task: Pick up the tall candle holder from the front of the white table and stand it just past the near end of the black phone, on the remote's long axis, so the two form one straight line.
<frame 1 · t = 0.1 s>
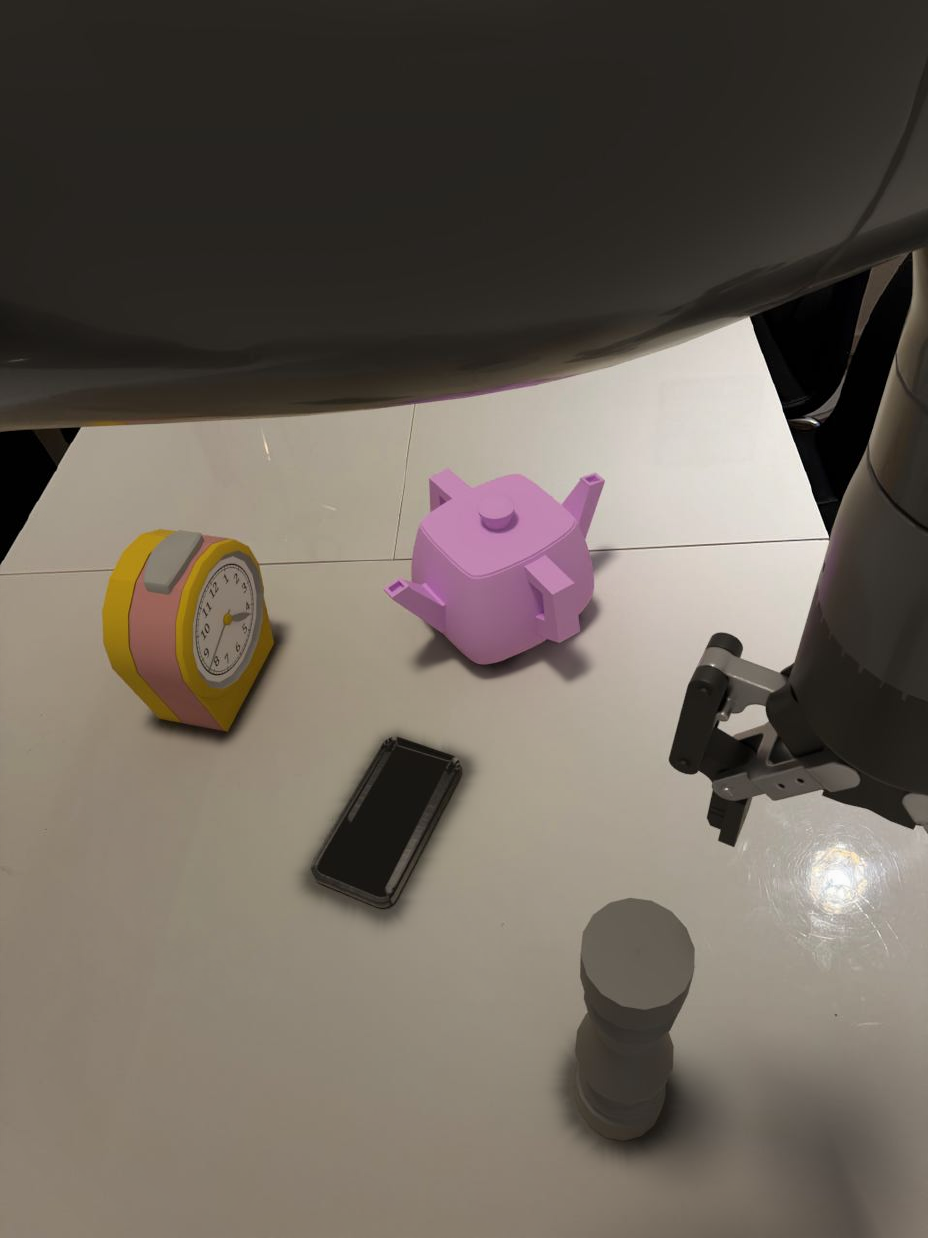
hand: (836, 869, 37), 35 cm above the table, tool pointing down, fingers open, 8 cm apart
phone: (389, 821, 80), on the table
candle holder: (618, 1092, 65), on the table
alarm clock: (222, 681, 93), on the table
teapot: (504, 614, 96), on the table
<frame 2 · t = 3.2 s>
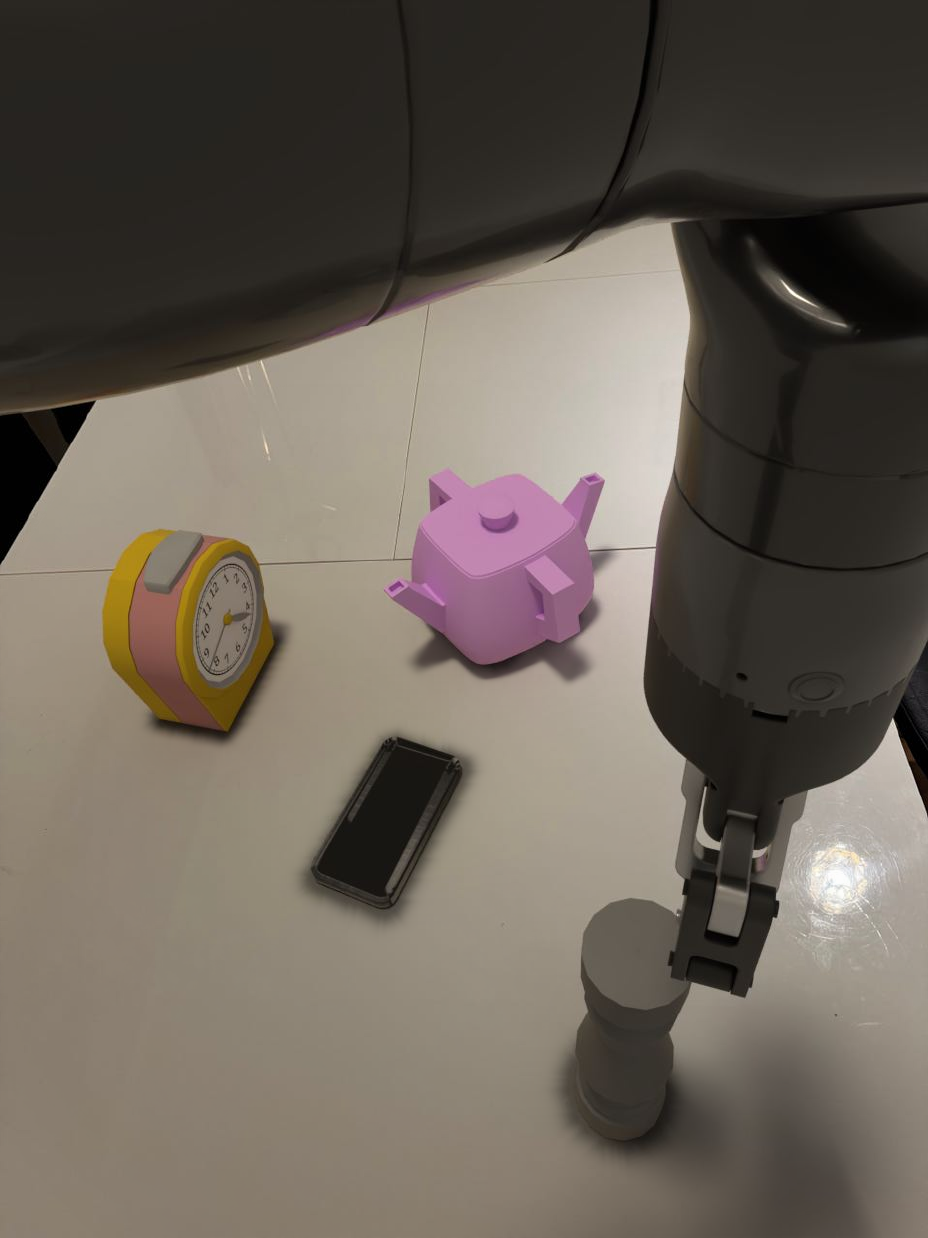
hand: (718, 864, 38), 35 cm above the table, tool pointing down, fingers open, 8 cm apart
nothing on the table moved.
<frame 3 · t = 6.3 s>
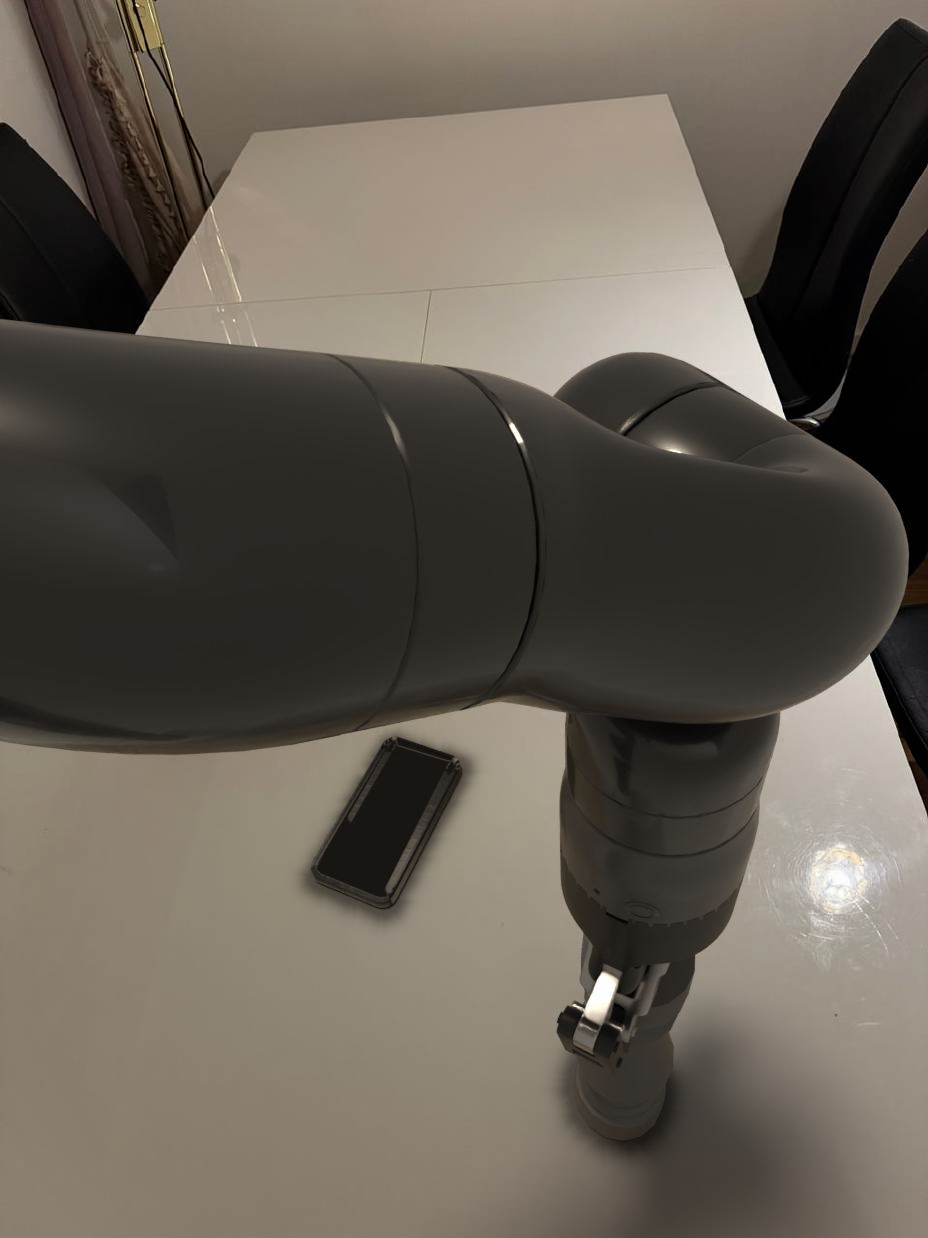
hand: (632, 984, 49), 21 cm above the table, tool pointing down, fingers closed on candle holder, 5 cm apart
candle holder: (618, 1092, 65), on the table, touching gripper
everything else where it was.
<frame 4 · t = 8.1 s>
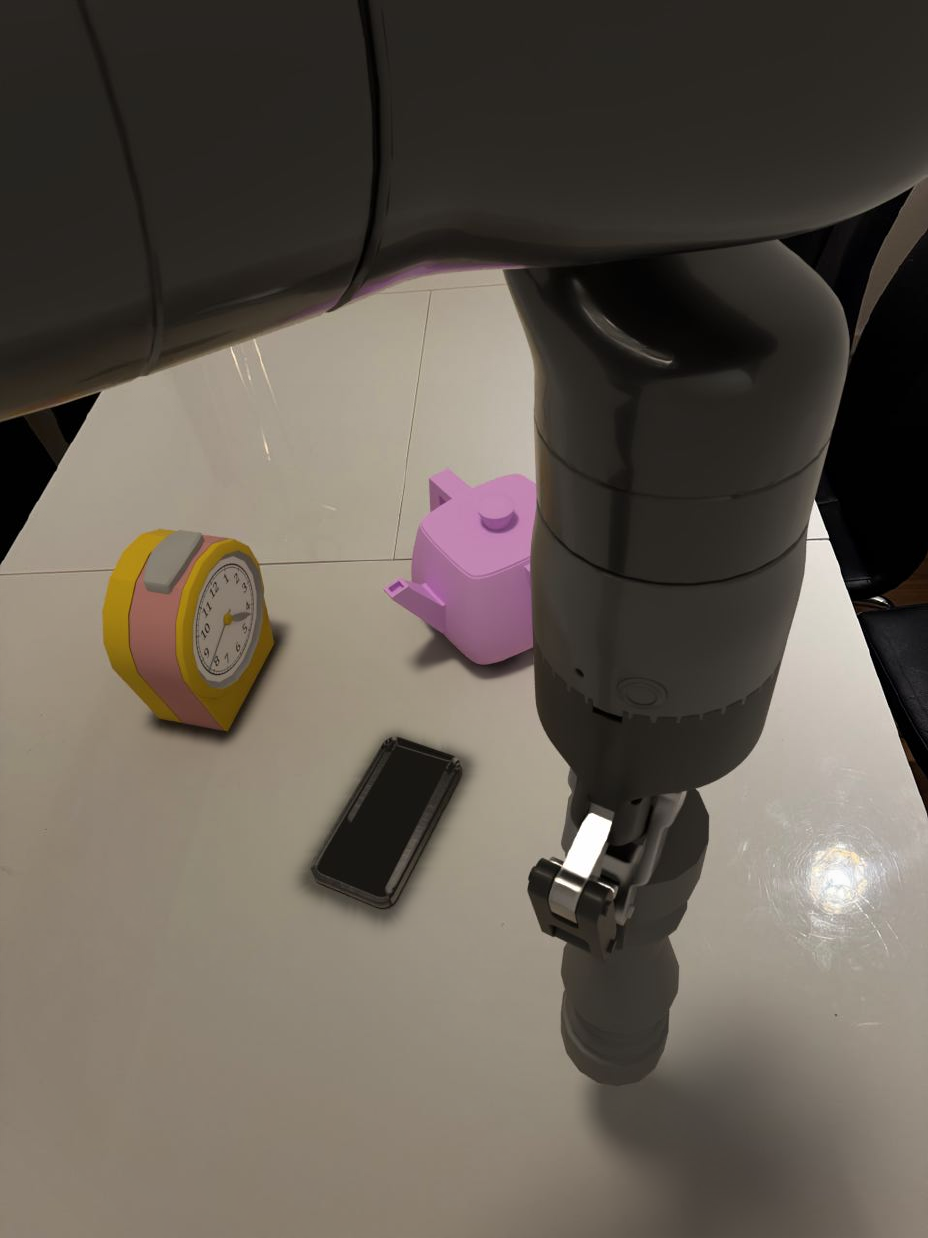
hand: (629, 871, 40), 34 cm above the table, tool pointing down, fingers closed on candle holder, 5 cm apart
candle holder: (612, 1032, 55), point 13 cm above the table, touching gripper
everything else where it was.
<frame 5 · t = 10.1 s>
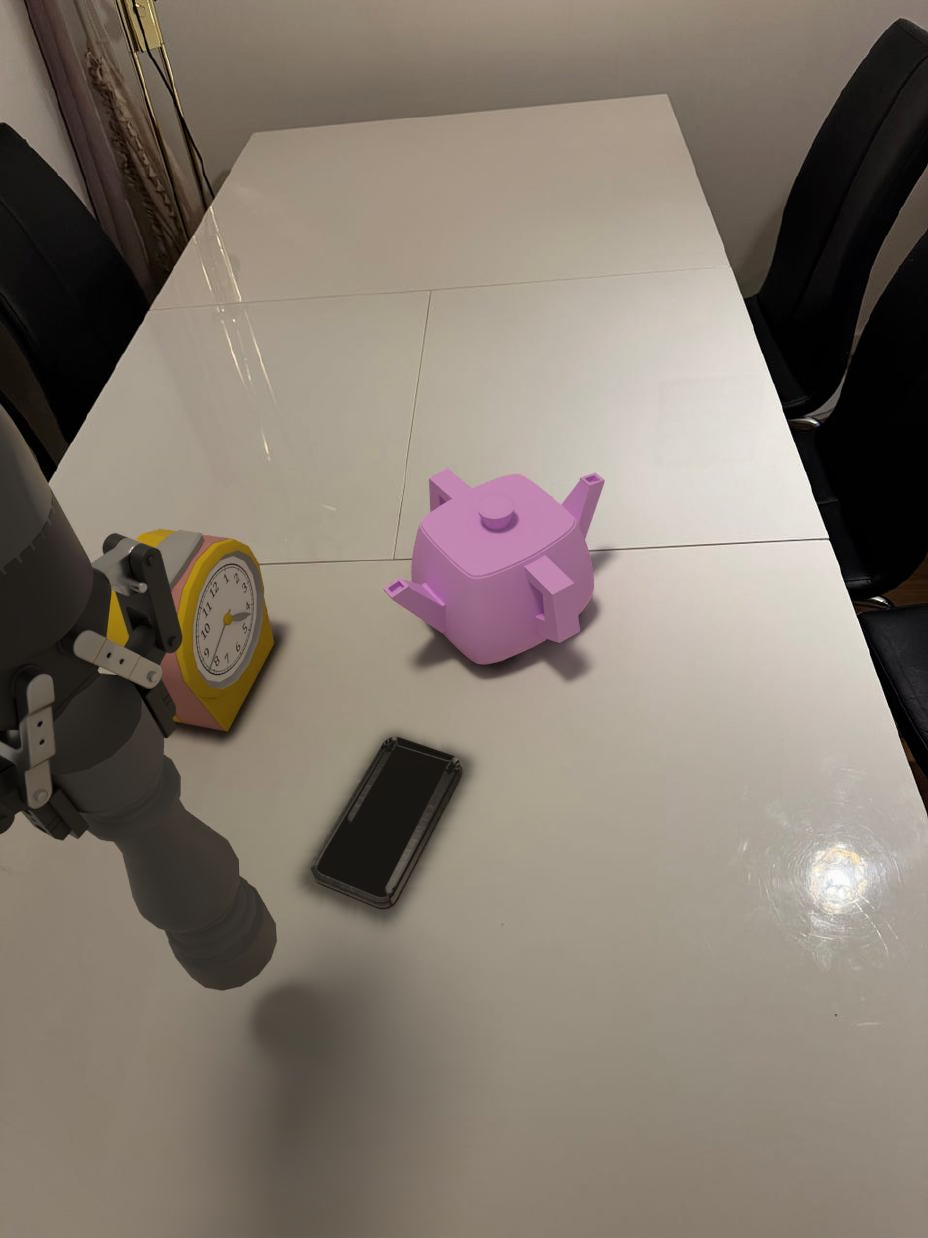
hand: (115, 775, 45), 34 cm above the table, tool pointing down, fingers closed on candle holder, 5 cm apart
candle holder: (231, 944, 60), point 13 cm above the table, touching gripper
everything else where it was.
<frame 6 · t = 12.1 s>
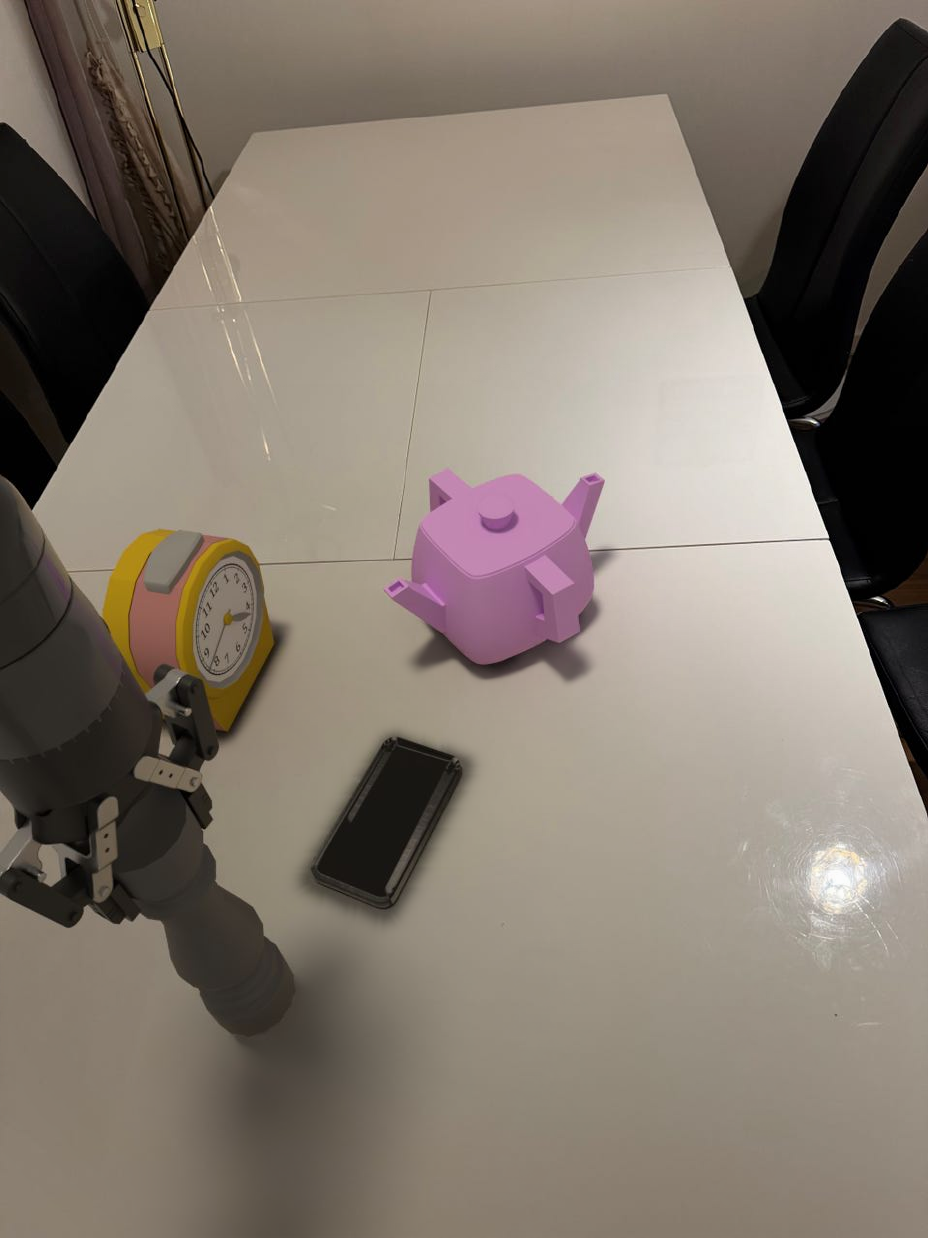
hand: (161, 863, 52), 24 cm above the table, tool pointing down, fingers closed on candle holder, 5 cm apart
candle holder: (254, 993, 68), point 4 cm above the table, touching gripper
everything else where it was.
when the fingers open (21 cm above the table, at t = 13.7 s): candle holder stays where it is, on the table.
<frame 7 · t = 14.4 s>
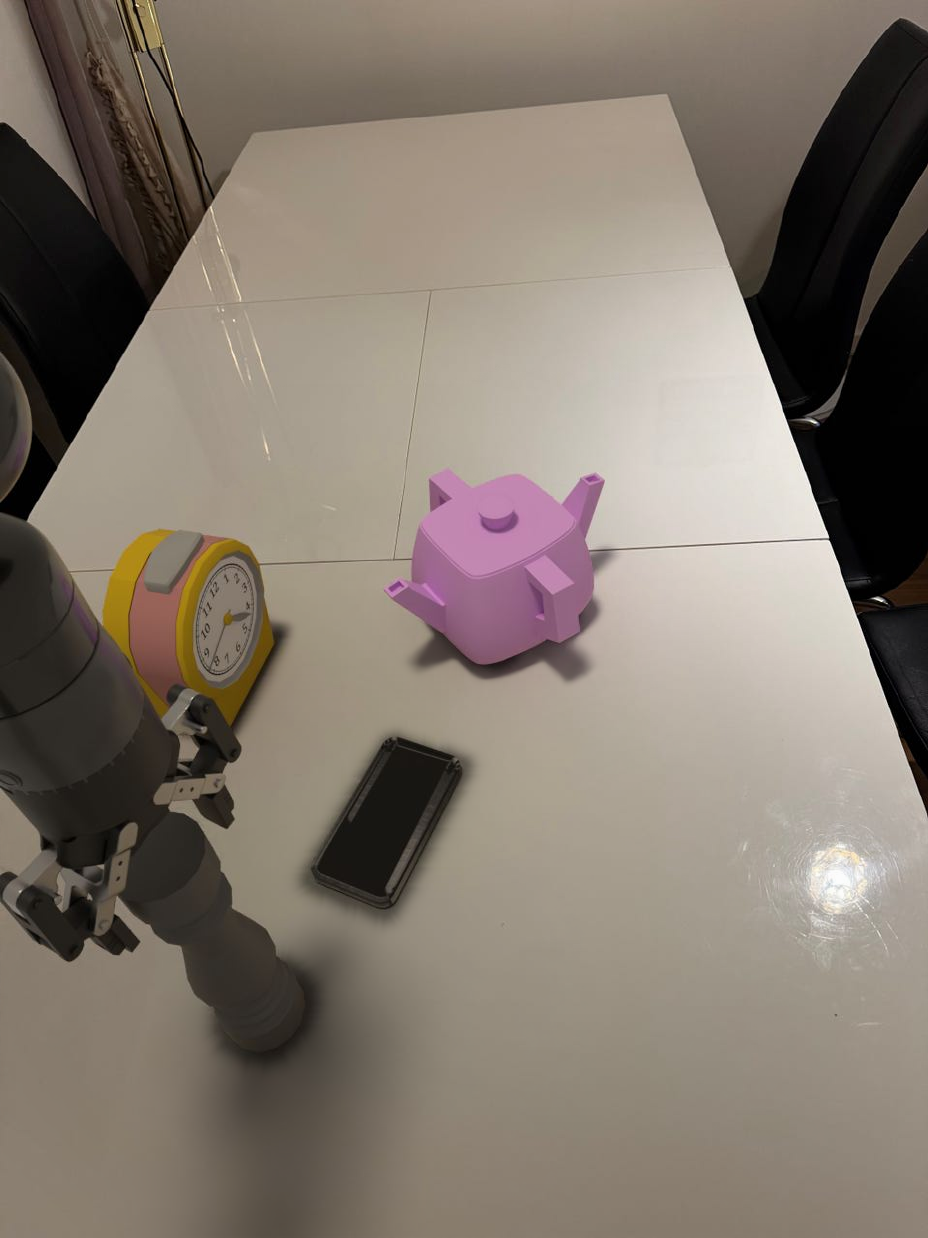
hand: (173, 878, 54), 22 cm above the table, tool pointing down, fingers open, 8 cm apart
candle holder: (266, 1010, 71), on the table
everything else where it was.
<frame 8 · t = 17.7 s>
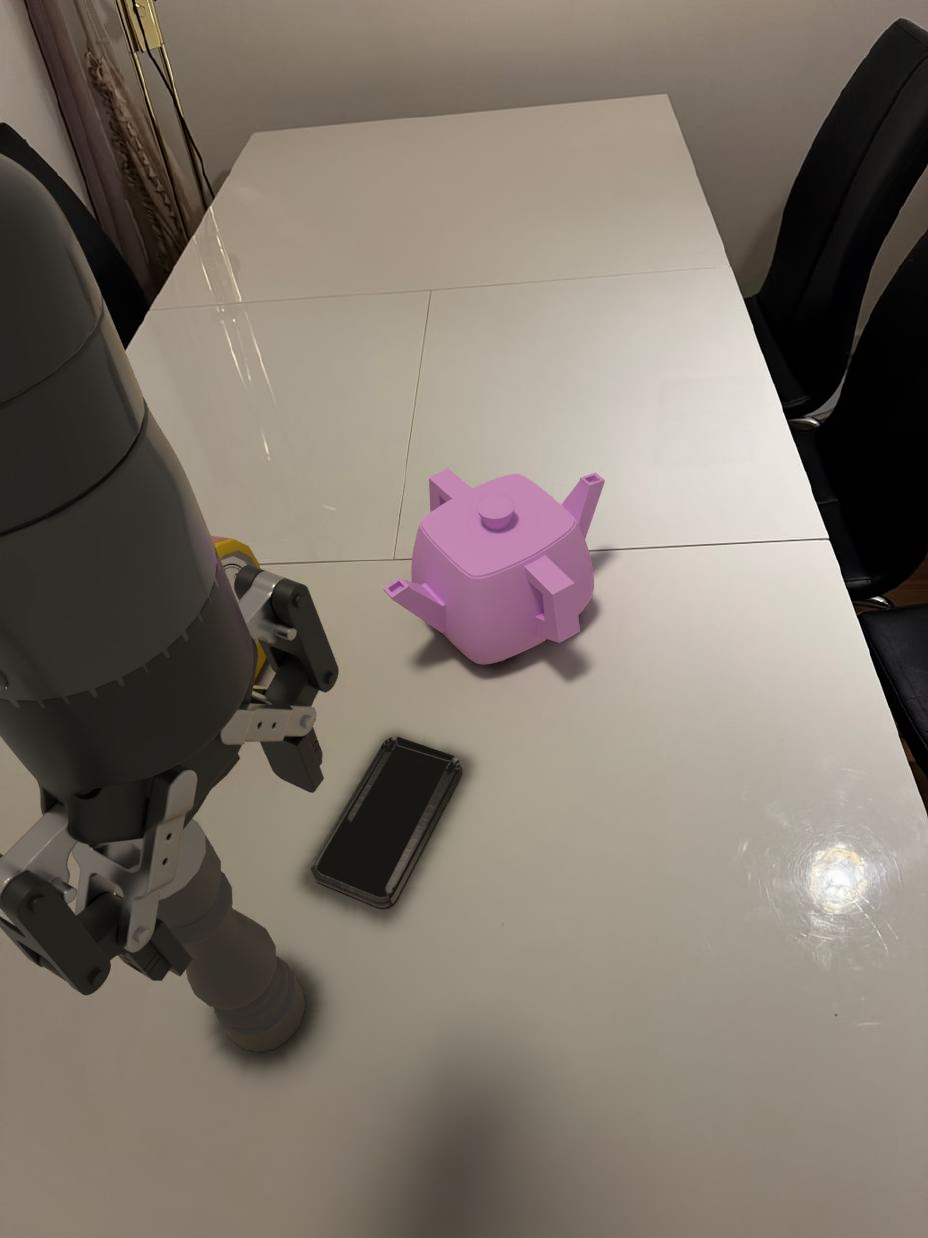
hand: (238, 863, 36), 38 cm above the table, tool pointing down, fingers open, 8 cm apart
nothing on the table moved.
at the end: candle holder 0.1 cm from the target spot on the table beside the phone, on the table; candle holder tilted 0°; phone moved 0.0 cm from its start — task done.
